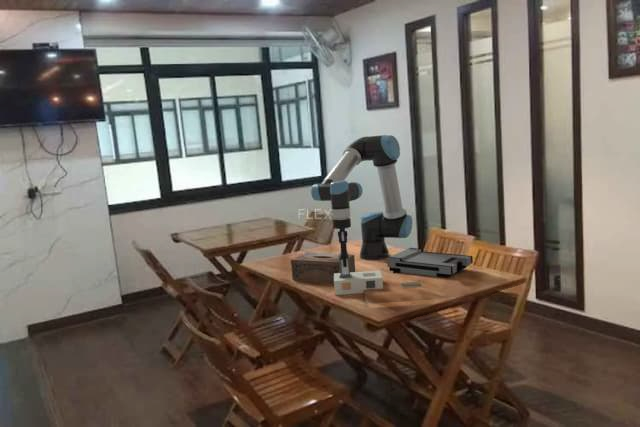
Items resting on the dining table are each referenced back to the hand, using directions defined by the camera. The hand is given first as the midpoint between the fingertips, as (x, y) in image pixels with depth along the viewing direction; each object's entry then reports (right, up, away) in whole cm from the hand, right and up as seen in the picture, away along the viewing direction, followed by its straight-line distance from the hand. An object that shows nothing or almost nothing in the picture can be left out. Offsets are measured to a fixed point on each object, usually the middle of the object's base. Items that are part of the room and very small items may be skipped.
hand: (345, 272), depth 235 cm
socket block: (+6, -7, +1) cm, 9 cm away
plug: (0, -4, +1) cm, 4 cm away
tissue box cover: (-9, -5, +24) cm, 26 cm away
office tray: (+40, -2, +19) cm, 44 cm away
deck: (+27, -6, -4) cm, 28 cm away
